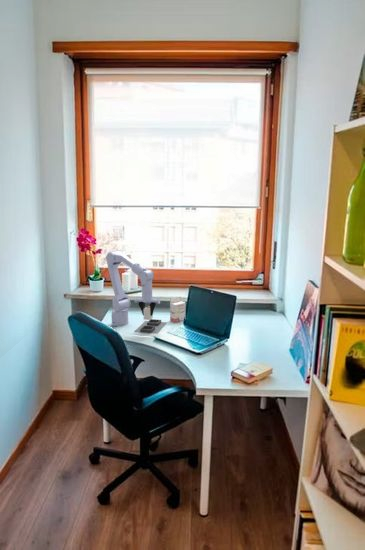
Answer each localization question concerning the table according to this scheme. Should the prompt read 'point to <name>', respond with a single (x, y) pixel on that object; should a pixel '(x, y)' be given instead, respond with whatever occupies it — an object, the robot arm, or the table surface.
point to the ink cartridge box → (177, 309)
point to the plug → (147, 313)
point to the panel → (151, 326)
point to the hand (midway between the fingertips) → (147, 315)
